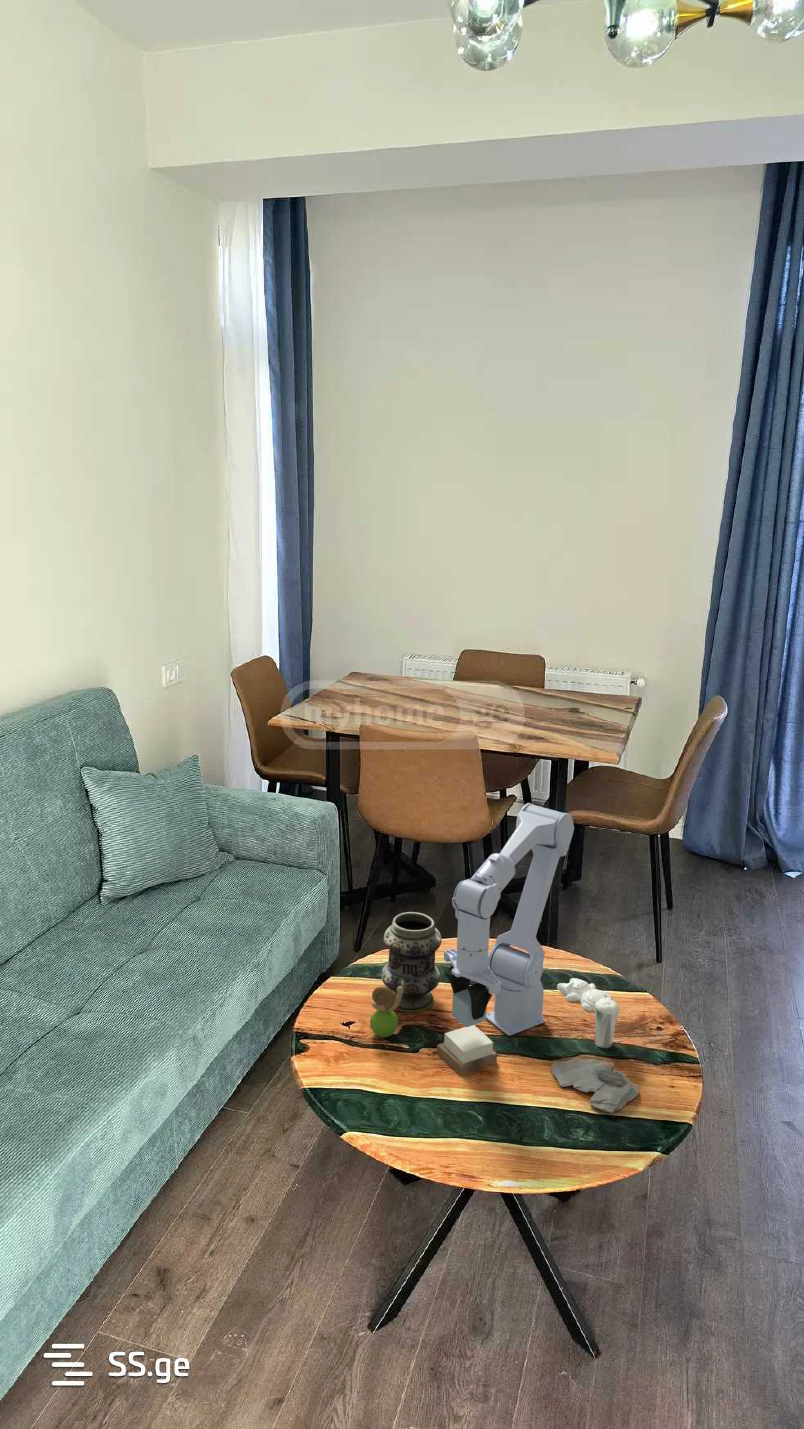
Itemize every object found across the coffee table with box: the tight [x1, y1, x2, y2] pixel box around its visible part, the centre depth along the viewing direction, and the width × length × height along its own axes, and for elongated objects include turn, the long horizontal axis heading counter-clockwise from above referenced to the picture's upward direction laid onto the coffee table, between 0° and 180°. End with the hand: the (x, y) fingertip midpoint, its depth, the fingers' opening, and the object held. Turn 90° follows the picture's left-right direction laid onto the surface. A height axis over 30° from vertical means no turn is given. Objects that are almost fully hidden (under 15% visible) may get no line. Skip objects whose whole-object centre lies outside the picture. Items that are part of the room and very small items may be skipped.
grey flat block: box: [436, 1042, 498, 1077], centre depth 178 cm, size 8×8×2 cm
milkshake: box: [592, 998, 620, 1049], centre depth 183 cm, size 5×5×10 cm
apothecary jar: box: [380, 911, 443, 1014], centre depth 195 cm, size 12×12×18 cm
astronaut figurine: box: [556, 977, 612, 1012], centre depth 200 cm, size 9×12×3 cm
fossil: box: [550, 1057, 639, 1114], centre depth 172 cm, size 17×11×2 cm
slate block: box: [451, 989, 488, 1027], centre depth 176 cm, size 4×4×4 cm
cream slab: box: [443, 1024, 494, 1064], centre depth 178 cm, size 6×6×2 cm
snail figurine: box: [369, 981, 404, 1038], centre depth 183 cm, size 5×6×12 cm
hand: (469, 1011), depth 176 cm, fingers closed on slate block, 4 cm apart
